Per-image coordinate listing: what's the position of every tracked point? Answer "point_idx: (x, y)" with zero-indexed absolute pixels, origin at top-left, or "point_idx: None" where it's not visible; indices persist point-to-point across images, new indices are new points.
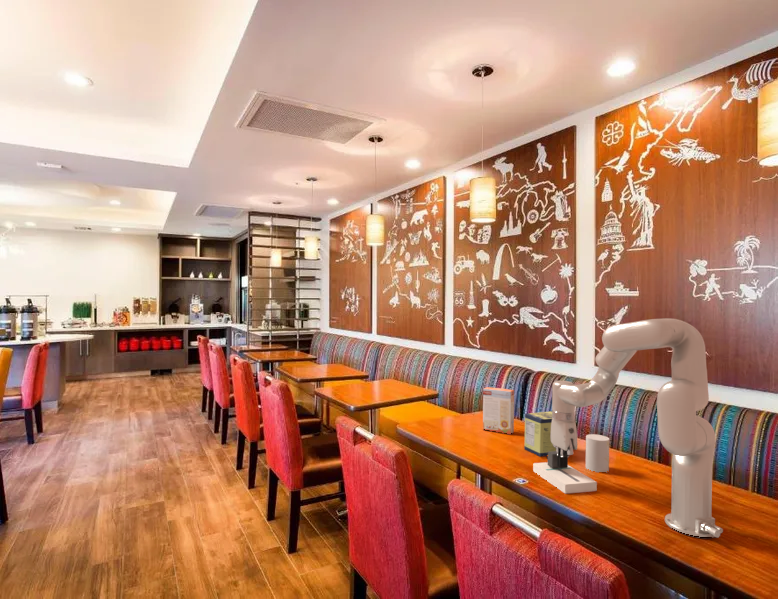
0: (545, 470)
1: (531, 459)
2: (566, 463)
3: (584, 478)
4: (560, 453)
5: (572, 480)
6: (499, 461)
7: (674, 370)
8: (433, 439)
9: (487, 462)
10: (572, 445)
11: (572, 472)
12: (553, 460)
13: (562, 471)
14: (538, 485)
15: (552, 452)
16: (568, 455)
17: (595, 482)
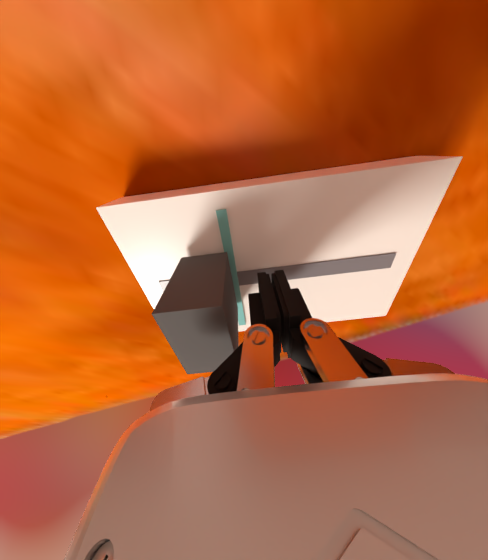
0: (247, 327)
1: (30, 282)
2: (301, 297)
3: (382, 209)
4: (302, 376)
5: (370, 278)
6: (111, 364)
7: None
8: (3, 426)
9: (131, 382)
10: (461, 448)
11: (287, 232)
12: (236, 331)
13: (270, 277)
14: None
15: (204, 361)
16: (343, 340)
17: (453, 167)
